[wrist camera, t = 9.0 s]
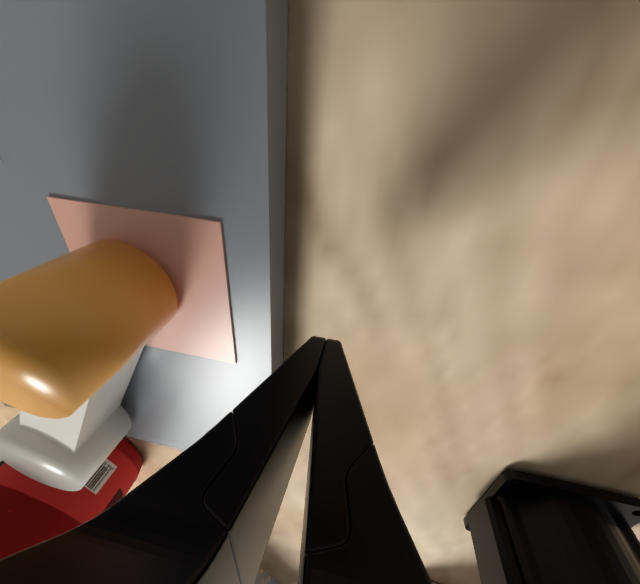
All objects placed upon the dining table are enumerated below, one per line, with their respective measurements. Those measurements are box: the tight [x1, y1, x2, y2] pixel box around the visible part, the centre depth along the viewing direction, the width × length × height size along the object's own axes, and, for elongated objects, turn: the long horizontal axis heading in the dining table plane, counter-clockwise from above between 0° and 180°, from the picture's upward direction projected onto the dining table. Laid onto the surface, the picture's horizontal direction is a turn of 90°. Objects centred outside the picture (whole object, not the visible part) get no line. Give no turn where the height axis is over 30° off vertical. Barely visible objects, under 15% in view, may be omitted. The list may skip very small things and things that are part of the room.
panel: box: [0, 0, 288, 451], centre depth 12 cm, size 18×20×2 cm
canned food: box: [0, 437, 142, 559], centre depth 18 cm, size 8×8×11 cm
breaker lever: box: [0, 239, 178, 491], centre depth 11 cm, size 14×4×4 cm, turn 146°
